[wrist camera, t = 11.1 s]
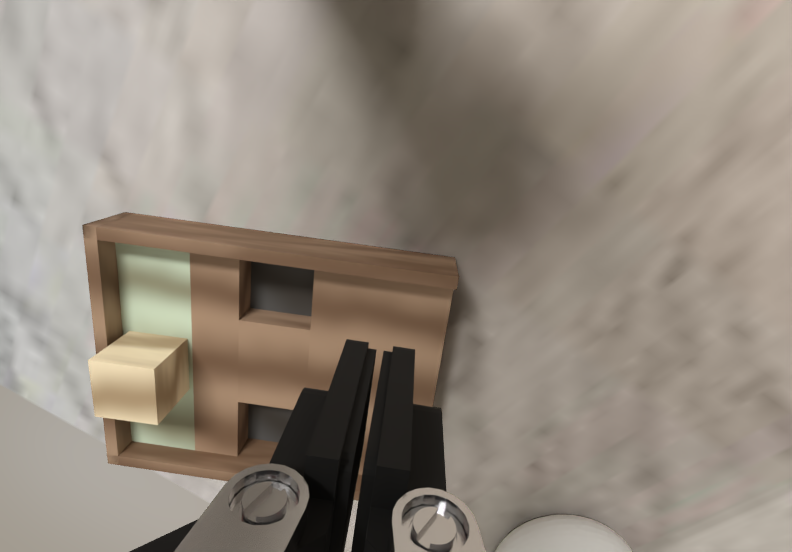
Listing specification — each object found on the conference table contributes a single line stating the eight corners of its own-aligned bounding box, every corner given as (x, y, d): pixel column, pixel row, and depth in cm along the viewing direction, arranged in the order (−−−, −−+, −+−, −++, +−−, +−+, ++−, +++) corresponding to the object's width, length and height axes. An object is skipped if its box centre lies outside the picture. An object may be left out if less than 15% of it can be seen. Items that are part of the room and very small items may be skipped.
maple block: (129, 330, 38) (88, 360, 34) (187, 338, 38) (153, 369, 33) (134, 381, 40) (95, 416, 35) (189, 389, 40) (157, 425, 35)
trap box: (124, 212, 38) (82, 225, 33) (454, 257, 37) (458, 276, 33) (141, 427, 45) (108, 463, 40) (417, 468, 45) (416, 509, 40)
